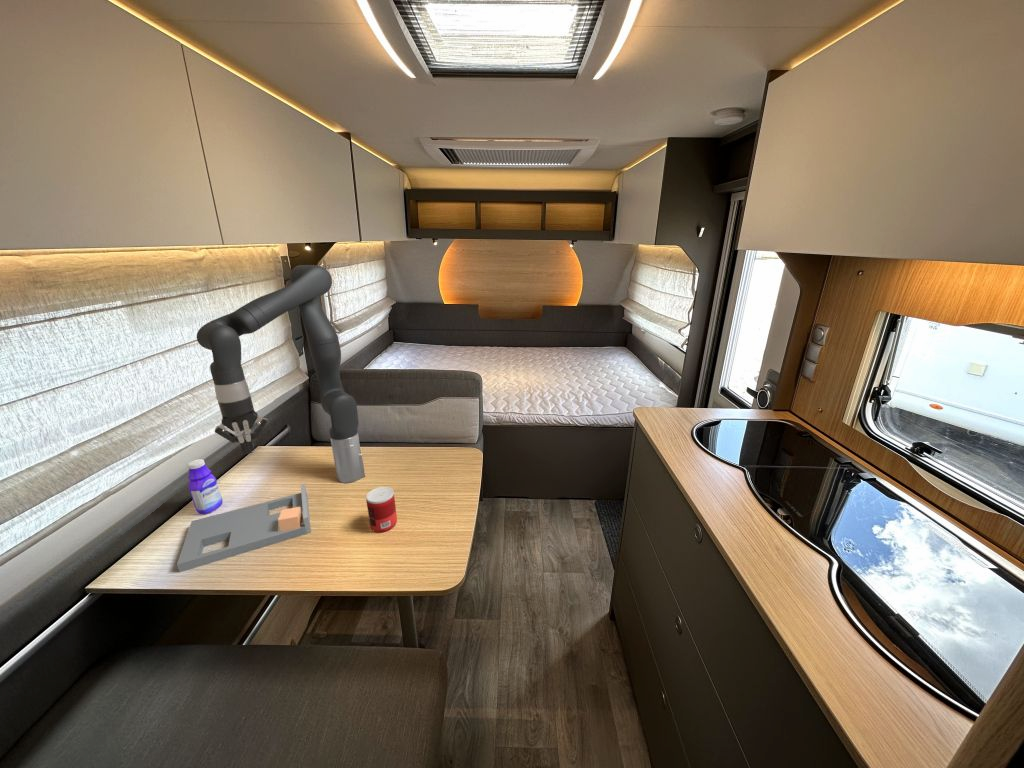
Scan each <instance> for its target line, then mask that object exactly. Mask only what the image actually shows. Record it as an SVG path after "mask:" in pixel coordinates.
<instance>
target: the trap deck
mask: <svg viewBox="0 0 1024 768" xmlns="http://www.w3.org/2000/svg"><path fill="white" fill-rule="evenodd" d="M300 491H301V492H300V493H299V492H298V493H296V494H292V495H287V496H284V497H281V498H276V499H272V500H267V501H265V502H261V503H256V504H253V505H249V506H244V507H241V508H237V509H233V510H229V511H225V512H221V513H218V514H214V515H209V516H206V517H202V518H198V519H194V520H191V522H190V524H189V528H188V531H187V534H186V536H185V540H184V543H183V544H182V549H181V552H180V554H179V558H178V560H177V563H176V567H177V569H178V571H179V573H181V572H185V571H188V570H193V569H196V568H198V567H201V566H205V565H208V564H211V563H215V562H218V561H222V560H225V559H227V558H228V559H229V558H231V557H235V556H238V555H241V554H245V553H249V552H251V551H254V550H259V549H261V548H264V547H268V546H271V545H275V544H278V543H282V542H284V541H288V540H291V539H295V538H297V537H301V536H304V535H307V534H311V533H312V529H311V527H312V526H311V519H310V517H311V516H310V508H309V506H310V505H309V497H308V492H307V487H306V484H305V483H303V484H300ZM283 506H284V507H287V506H292V508H295V507H301V512H302V517H303V518H302V522H301V526H300V528H298V529H292V530H287V531H282V532H281V531H280V526H279V522H278V519H279V516H280V513H281V511H280V512H276V513H273V514H270V511H272V510H271V509H273V510H276V509H275V508H277V509H280V508H283ZM279 507H280V508H279ZM269 510H270V511H269ZM225 541H228V545H227V546H225V547H220V548H217V549H215V550H211V551H207V552H204V547H205V548H206V547H208V546H212V545H215V544H218V543H221V542H225ZM203 552H204V553H203Z"/></svg>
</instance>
